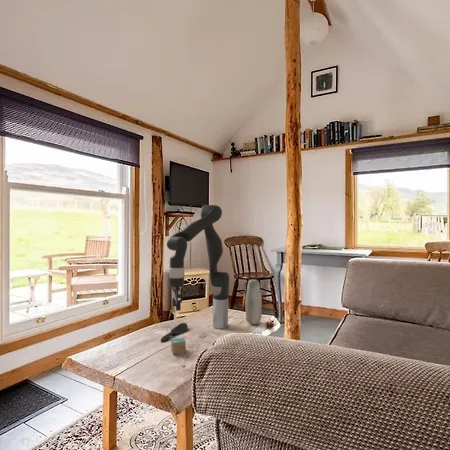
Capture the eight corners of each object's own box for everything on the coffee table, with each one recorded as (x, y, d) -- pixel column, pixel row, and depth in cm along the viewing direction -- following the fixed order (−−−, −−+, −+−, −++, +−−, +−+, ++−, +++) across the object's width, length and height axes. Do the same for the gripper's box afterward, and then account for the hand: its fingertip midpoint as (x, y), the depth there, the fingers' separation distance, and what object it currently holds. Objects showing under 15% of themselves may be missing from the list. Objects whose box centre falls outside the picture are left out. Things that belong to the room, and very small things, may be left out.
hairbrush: (154, 336, 169) (178, 320, 193) (155, 343, 170) (178, 326, 193) (168, 339, 166) (190, 322, 190) (168, 345, 167) (190, 328, 190)
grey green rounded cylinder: (245, 321, 204) (245, 277, 204) (261, 321, 203) (261, 278, 203) (245, 326, 194) (245, 280, 194) (261, 326, 193) (262, 280, 193)
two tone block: (171, 350, 158) (171, 338, 158) (183, 348, 160) (183, 336, 160) (173, 355, 152) (173, 342, 152) (185, 353, 154) (185, 341, 154)
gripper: (187, 278, 155) (186, 311, 155) (181, 273, 168) (181, 304, 168) (171, 279, 152) (171, 312, 152) (167, 274, 166) (166, 305, 166)
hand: (176, 308), depth 160 cm, fingers open, 8 cm apart
